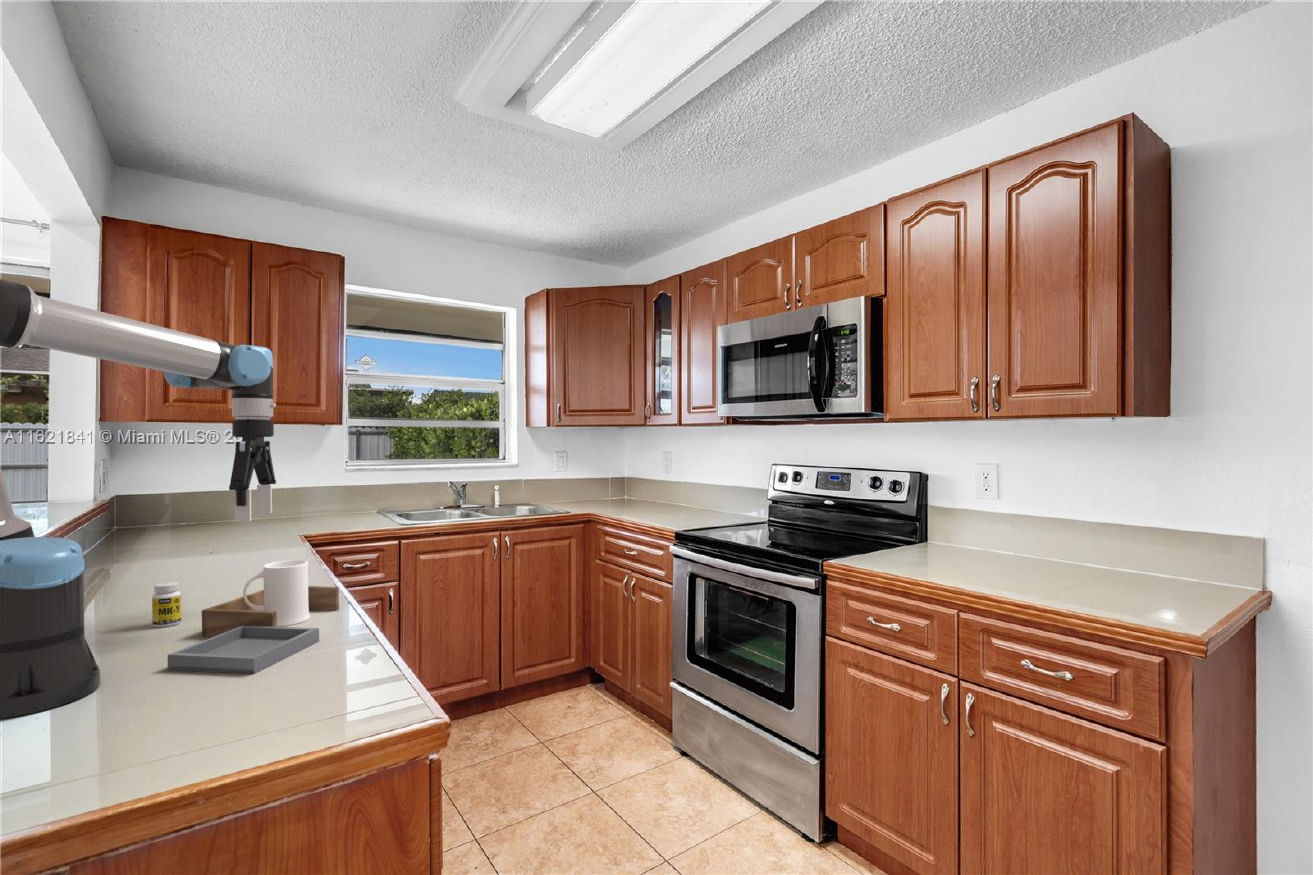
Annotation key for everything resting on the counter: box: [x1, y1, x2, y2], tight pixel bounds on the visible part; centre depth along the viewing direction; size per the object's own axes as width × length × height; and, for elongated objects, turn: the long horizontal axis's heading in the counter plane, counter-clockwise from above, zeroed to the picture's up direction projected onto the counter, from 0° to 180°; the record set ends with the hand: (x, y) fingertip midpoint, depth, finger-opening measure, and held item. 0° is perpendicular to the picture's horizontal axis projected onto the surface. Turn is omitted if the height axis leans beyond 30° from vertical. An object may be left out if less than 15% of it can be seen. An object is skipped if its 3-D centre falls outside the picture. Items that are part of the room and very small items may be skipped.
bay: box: [201, 585, 340, 637], centre depth 132 cm, size 20×15×5 cm
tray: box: [167, 625, 320, 675], centre depth 113 cm, size 16×16×2 cm
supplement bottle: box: [151, 581, 182, 628], centre depth 131 cm, size 5×5×8 cm
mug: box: [242, 559, 311, 627], centre depth 132 cm, size 12×8×12 cm
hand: (254, 517), depth 137 cm, fingers open, 13 cm apart
